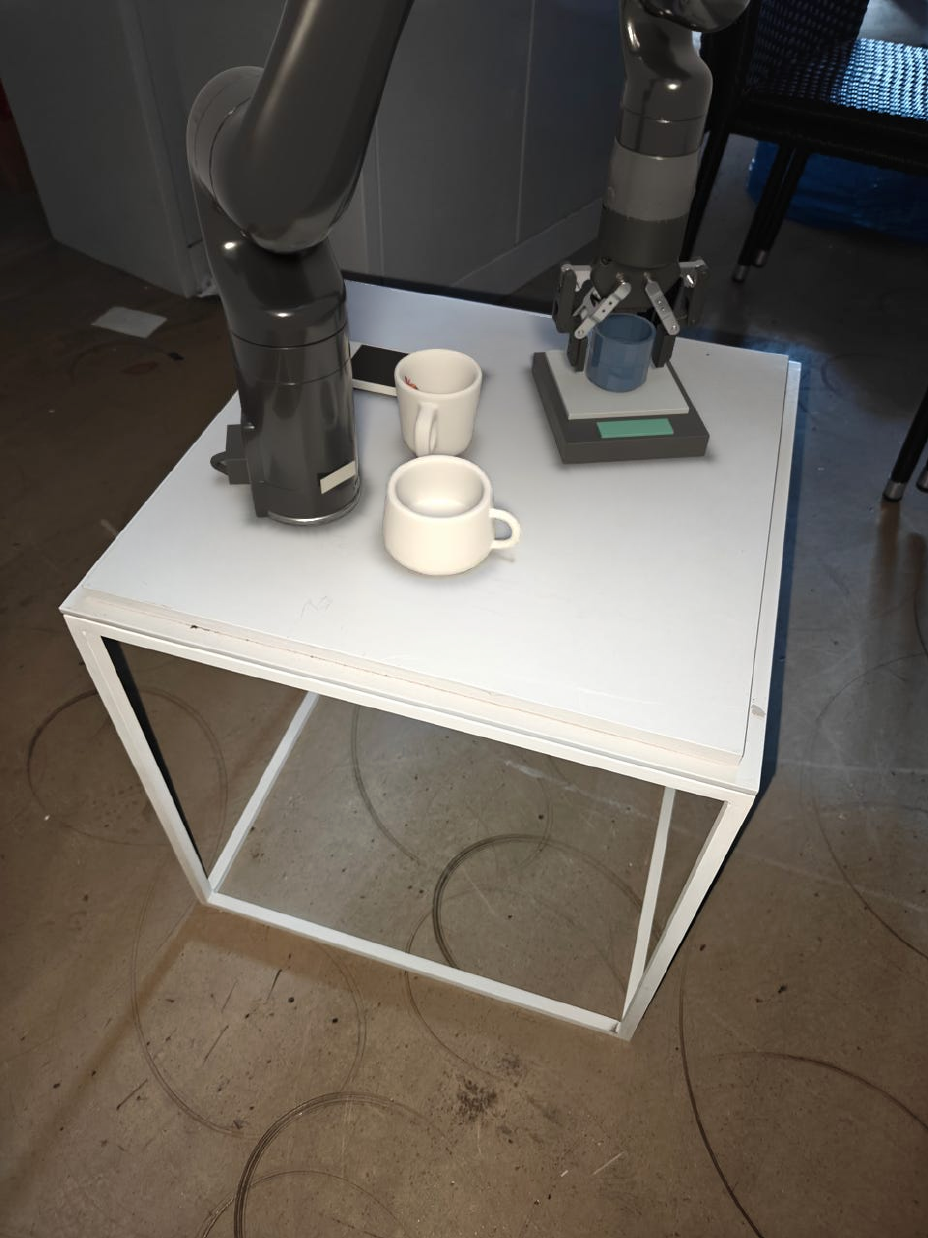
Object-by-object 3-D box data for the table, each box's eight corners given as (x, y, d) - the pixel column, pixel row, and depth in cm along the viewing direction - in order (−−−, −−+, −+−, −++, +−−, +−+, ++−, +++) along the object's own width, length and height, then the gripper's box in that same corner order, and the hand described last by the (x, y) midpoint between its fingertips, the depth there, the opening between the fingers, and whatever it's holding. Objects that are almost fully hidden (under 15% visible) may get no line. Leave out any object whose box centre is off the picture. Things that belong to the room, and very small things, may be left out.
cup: (463, 493, 81) (466, 420, 76) (379, 480, 82) (375, 406, 76) (485, 425, 89) (490, 353, 83) (407, 414, 89) (406, 342, 84)
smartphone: (345, 346, 97) (345, 338, 97) (481, 373, 95) (481, 365, 94) (319, 380, 93) (318, 372, 92) (461, 410, 90) (461, 402, 89)
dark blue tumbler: (593, 396, 87) (601, 345, 83) (580, 363, 91) (587, 313, 87) (652, 393, 88) (663, 343, 84) (636, 360, 92) (646, 311, 88)
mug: (364, 562, 75) (361, 507, 70) (407, 493, 81) (406, 439, 77) (501, 600, 72) (506, 545, 68) (534, 526, 79) (540, 471, 74)
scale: (563, 464, 85) (567, 438, 83) (531, 372, 96) (534, 346, 93) (704, 456, 87) (711, 430, 84) (657, 366, 97) (663, 341, 95)
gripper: (713, 178, 80) (675, 342, 92) (557, 181, 78) (539, 348, 90) (741, 214, 75) (697, 383, 87) (576, 218, 73) (554, 390, 85)
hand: (617, 365), depth 89 cm, fingers open, 7 cm apart
